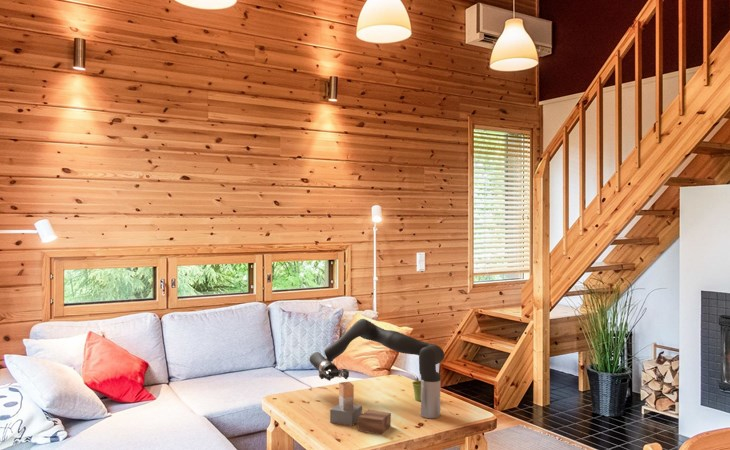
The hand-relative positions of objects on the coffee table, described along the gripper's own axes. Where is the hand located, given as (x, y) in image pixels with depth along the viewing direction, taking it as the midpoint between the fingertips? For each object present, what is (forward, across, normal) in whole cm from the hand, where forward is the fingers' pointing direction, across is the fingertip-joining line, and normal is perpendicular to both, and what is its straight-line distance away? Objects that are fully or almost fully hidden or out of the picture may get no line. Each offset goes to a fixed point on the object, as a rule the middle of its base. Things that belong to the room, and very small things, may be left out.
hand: (338, 377), depth 286 cm
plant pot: (-5, +47, +17) cm, 50 cm away
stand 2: (+26, +9, +16) cm, 32 cm away
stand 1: (+12, 0, +17) cm, 20 cm away
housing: (+12, 0, +11) cm, 16 cm away
